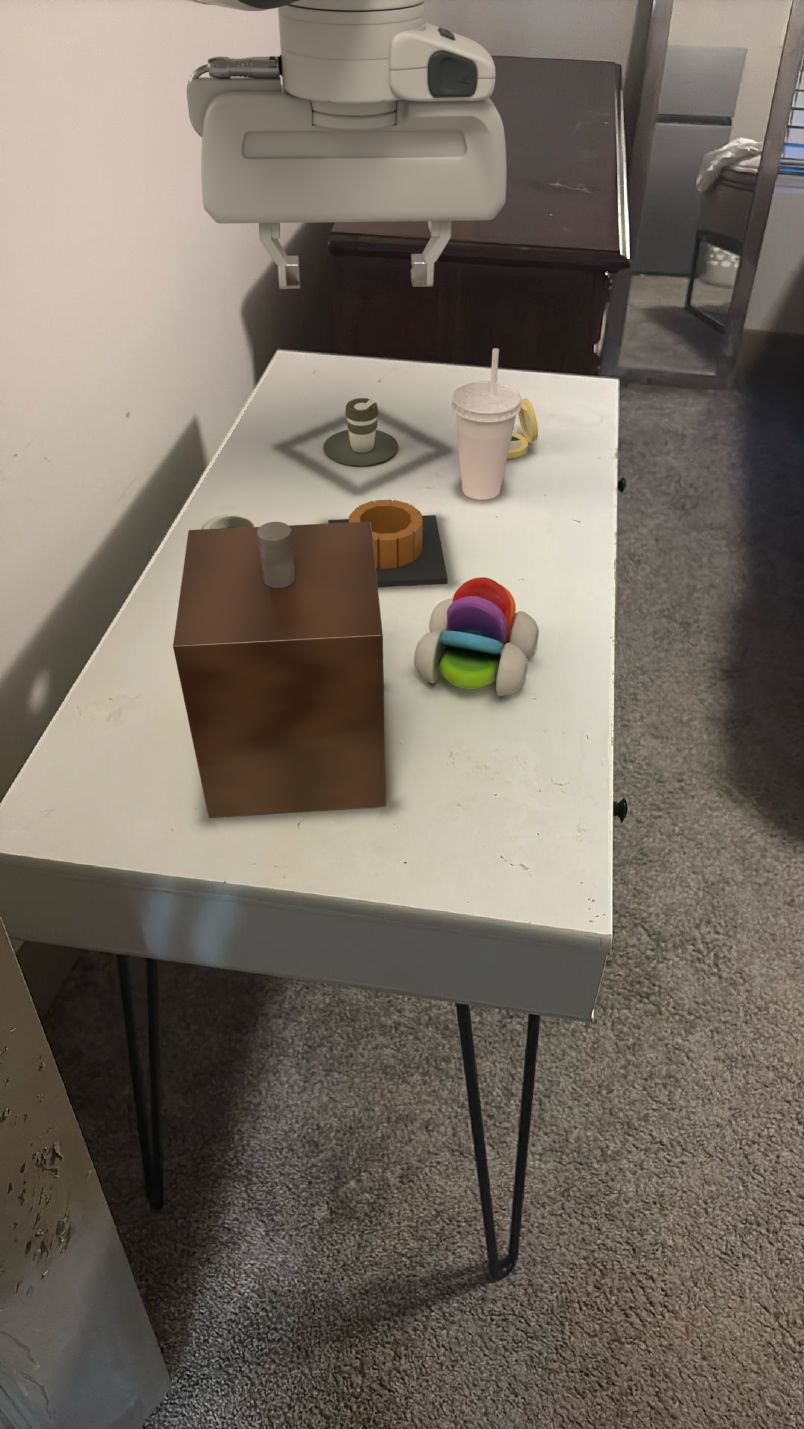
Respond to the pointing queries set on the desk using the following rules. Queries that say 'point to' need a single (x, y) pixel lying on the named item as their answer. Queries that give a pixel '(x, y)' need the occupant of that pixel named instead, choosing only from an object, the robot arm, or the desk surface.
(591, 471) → the desk surface
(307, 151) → the robot arm
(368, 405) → the coffee cup
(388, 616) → the desk surface
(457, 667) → the rainbow disc roller toy
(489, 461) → the smoothie
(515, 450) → the eyeshadow
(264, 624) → the tape stand
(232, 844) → the desk surface
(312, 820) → the desk surface
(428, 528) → the mat
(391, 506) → the grooved wooden ring
